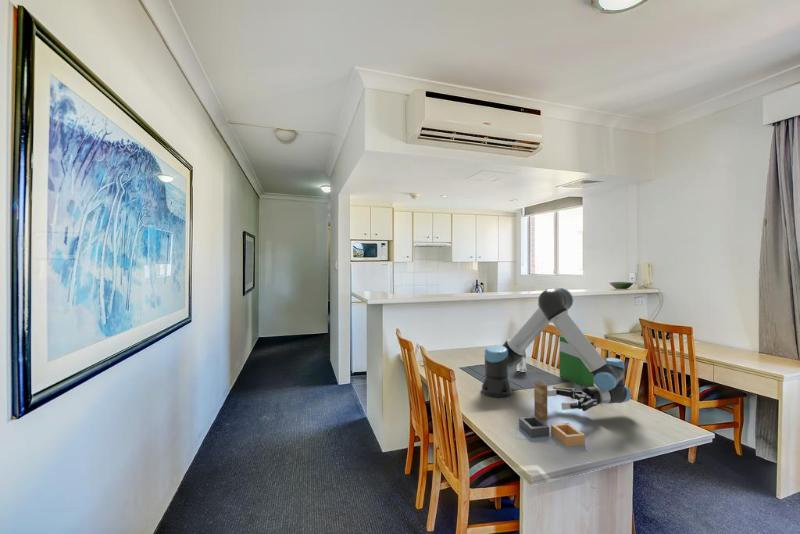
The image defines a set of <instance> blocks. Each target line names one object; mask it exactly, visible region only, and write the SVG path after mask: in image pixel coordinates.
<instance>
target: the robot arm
mask: <svg viewBox="0 0 800 534" xmlns="http://www.w3.org/2000/svg"><path fill="white" fill-rule="evenodd" d="M537 300H538V302H537V304H538V308H537V309H536V311H535V312H534V313H533V314H532V315H531V316H530V318H529V319H528V320H527V321H526V322H525V323H524V324H523V325H522V326H521V327H520V329H519V330H518V331H517V333H515V334H514V336H513V337H512V338H508V339H506V341H505V342H504V343H503V344H502V345H498V344H497V345H496V344H495V345H490V346H488V347H486V348H485V349H484V355H483V356H484V379H483V381H482V385H481V393H482V394H484V395H486V396H488V395H489V396H488V397H493V398H506V397H510V396H511V395H512V386H511V384H510V381H509V376H508V375H509V372H508V371H509V370H508V369H510V368H512V367H514V366H517V364H519V363H520V362H521V360H522V359H523V356H524V355H525V354H526V351H525V349H526V348H527V349H528V347H530V345H531V344H532V343H533V342H534V341H535V340H536V338H537V337H538V336H539V335H540V334H541V333H542V332H543V331H544V329H546V327H547V326H548V325H549V324H550V323H553V325H554V326H555V327H556V329H557V330H558V332H560V334H561V336H563V337H564V338H565V339H566V341H567V342H568V343H569V345H570V346H571V347H572V348H573V350H574V351H575V352H576V354H577V355H578V356H579V358H580V359H581V360H582V362H583V363H584V364H585V366H586V367H587V368H588V370H589V371H590V372H591V374H592V375H593V376H594V385H595V386H585V387H584V388H583V389H582V390H577V388H576V387H571V388H570V387H561V386H558V387H557V386H553V387H552V388H553V389H547V397H556V396H562V397H567V398H570V399H572V400H577V401H567V402H566V401H565V402H561V410H563V411H564V410H567V411H568V410H576V409H577V410H582V412H586V411H588V410H589V409H592V408H593V407H597V406H599V405H601V406H602V405H609V404H610V405H611V404H621V403H627V402H629V401H630V400H631V398H632V393H631V391H630V388H629V387H628V386H627V385H625V362H624V361H623V359H619V358H615V357H606V358H605V359H603V357H602V356H601V355H600V354H599V352H598V351H597V350H596V348H595V347H593V346H592V344H591V343H590V342H589V341H590V340H589V339H588V338H587V337H586V335H585V334H584V333H583V331H582V330H581V329H580V327H579V326H578V325H577V324H576V323H575V321H574V320H573V319H572V317H571V316H570V315H569V313H568V312H569V309H571V308H572V306H573V303H574V297H573V294H572V293H571V292H570V291H569V290H568V289H566V288H564V287H554V288H548V289H545V290H543V291H542V292H541V293H540V294H539V297H538V299H537Z"/></svg>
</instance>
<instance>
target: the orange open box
mask: <svg viewBox="0 0 800 534" xmlns="http://www.w3.org/2000/svg"><path fill="white" fill-rule="evenodd" d="M550 427H551V434H552V435H554V436H555V437H556V438H557V439H558V440H560V441H561V442H562V443H563V444H564V445H566V446H576V445H584V444H585V442H586V435H585V434H583V433H584V432H583V433H581V432H582V431H580V430H578V429H577V428H576V427H574V426H573V425H572V424H570V423H569V422H567V423H566V422H564V423H563V422H562V423H556V424H555V423H553V424H550ZM567 434H569V435H567Z"/></svg>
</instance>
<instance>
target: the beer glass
mask: <svg viewBox="0 0 800 534" xmlns="http://www.w3.org/2000/svg"><path fill="white" fill-rule="evenodd" d="M525 351H526V354H525V355H524V356H523V359H522V360H521V362H520V363H519V364H517V365H516V369H517V371H521V372H525V371H527V361H528V347H527V348H526V349H525ZM517 371H516V372H517ZM527 372H528V371H527Z"/></svg>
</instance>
